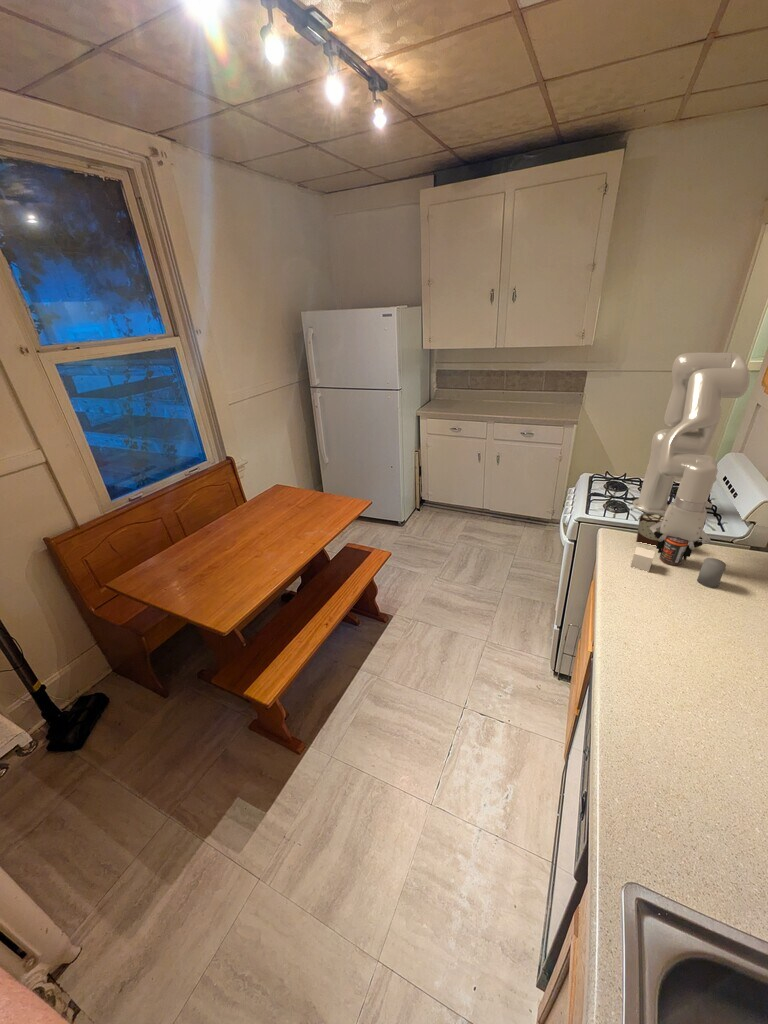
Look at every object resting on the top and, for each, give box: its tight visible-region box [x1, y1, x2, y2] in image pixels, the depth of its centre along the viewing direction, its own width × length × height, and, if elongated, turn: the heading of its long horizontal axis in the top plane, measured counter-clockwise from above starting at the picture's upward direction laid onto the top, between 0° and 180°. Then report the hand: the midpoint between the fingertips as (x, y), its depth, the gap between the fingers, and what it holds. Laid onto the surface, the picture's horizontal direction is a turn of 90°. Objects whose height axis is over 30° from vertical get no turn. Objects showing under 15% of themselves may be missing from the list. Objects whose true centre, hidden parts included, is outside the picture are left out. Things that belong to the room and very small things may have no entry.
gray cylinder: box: [696, 557, 727, 589], centre depth 117 cm, size 5×5×7 cm
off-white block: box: [630, 546, 656, 573], centre depth 126 cm, size 5×5×5 cm
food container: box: [635, 512, 666, 546], centre depth 137 cm, size 12×6×10 cm, turn 58°
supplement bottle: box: [658, 536, 689, 566], centre depth 126 cm, size 6×6×11 cm
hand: (672, 553), depth 128 cm, fingers open, 6 cm apart
